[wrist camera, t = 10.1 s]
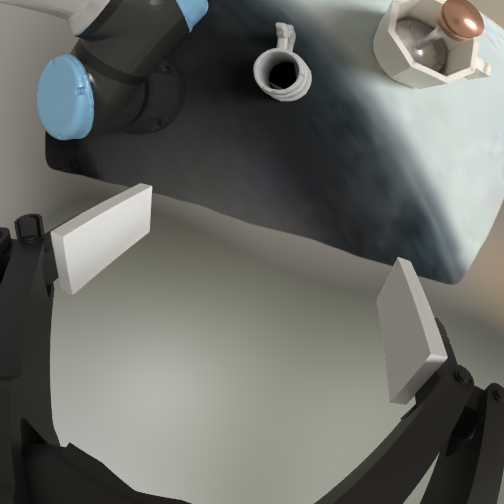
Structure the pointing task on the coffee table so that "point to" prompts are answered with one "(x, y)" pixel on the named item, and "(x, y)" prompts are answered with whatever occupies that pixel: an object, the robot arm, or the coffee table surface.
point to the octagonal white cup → (402, 64)
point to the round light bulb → (440, 32)
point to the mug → (278, 56)
